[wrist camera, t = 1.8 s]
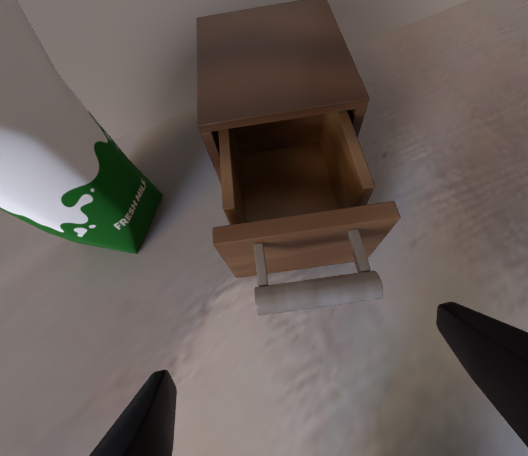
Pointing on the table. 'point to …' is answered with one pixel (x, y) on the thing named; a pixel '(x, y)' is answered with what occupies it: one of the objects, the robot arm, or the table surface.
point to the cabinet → (273, 69)
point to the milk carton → (62, 152)
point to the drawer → (300, 210)
